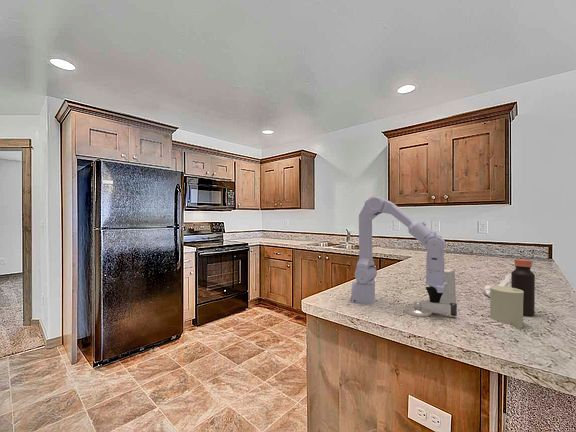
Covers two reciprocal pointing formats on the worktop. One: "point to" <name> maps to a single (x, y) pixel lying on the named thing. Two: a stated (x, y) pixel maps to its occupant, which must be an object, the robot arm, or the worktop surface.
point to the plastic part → (502, 283)
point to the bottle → (524, 284)
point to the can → (507, 305)
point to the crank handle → (431, 308)
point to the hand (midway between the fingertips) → (434, 307)
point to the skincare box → (449, 287)
